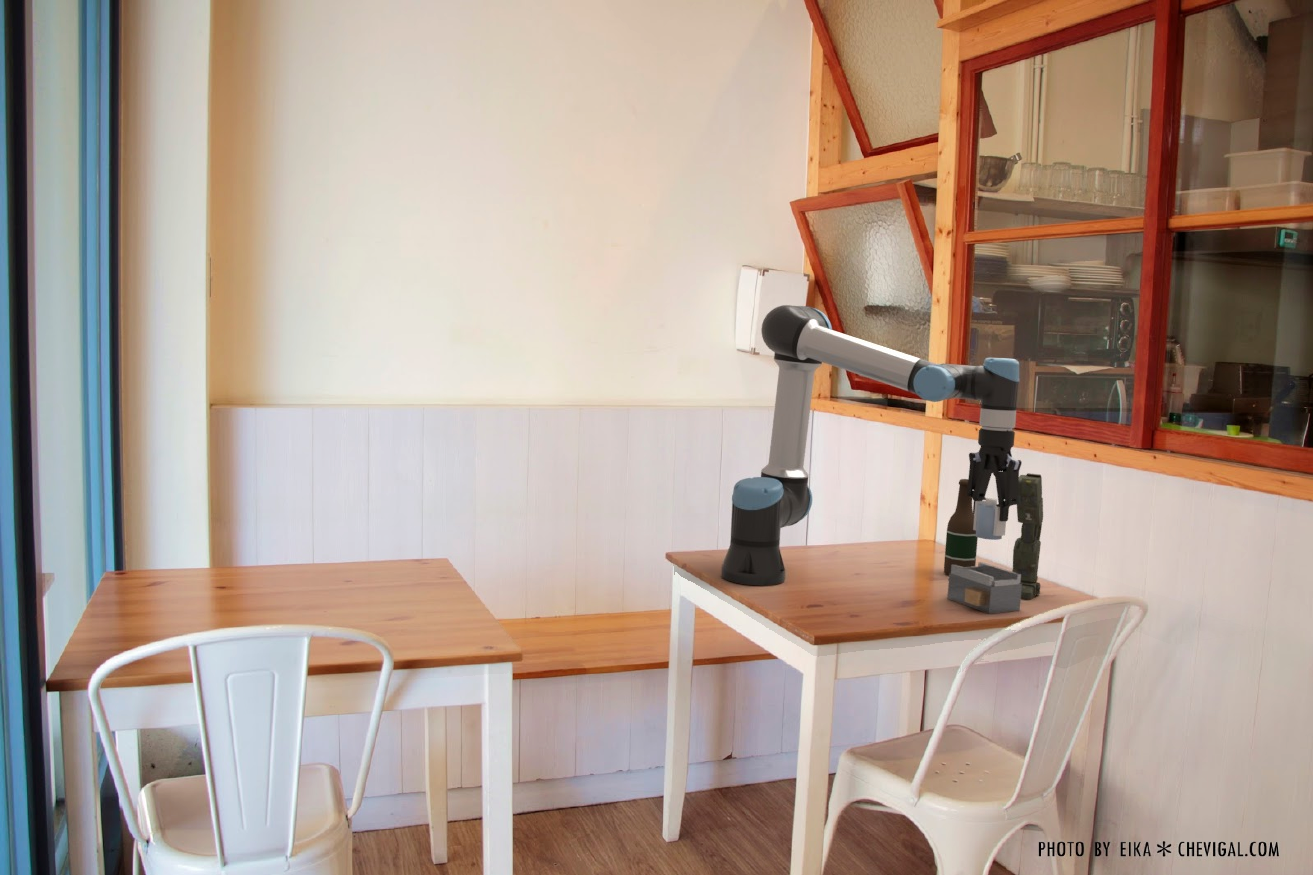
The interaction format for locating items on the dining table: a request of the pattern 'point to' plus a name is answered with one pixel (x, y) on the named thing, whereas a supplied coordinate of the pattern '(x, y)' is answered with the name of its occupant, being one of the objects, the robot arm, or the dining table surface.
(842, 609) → the dining table surface
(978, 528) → the light blue bottle
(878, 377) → the robot arm
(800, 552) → the dining table surface
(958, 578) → the open grey metal box
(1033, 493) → the mechanical leg
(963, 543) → the beer bottle
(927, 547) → the dining table surface
